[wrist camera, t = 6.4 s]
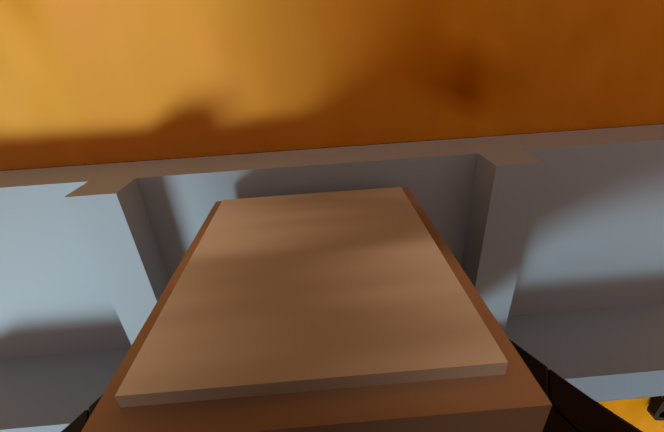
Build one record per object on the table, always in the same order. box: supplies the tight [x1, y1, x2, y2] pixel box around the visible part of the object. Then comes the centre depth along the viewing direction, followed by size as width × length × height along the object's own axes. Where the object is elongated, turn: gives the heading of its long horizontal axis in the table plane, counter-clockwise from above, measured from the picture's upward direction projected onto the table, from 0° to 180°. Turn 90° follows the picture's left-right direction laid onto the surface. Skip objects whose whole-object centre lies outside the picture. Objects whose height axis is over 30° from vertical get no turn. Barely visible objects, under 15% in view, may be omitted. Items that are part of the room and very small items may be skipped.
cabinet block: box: [81, 187, 552, 432], centre depth 7 cm, size 5×5×7 cm
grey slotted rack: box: [0, 124, 664, 432], centre depth 10 cm, size 24×7×4 cm, turn 93°
